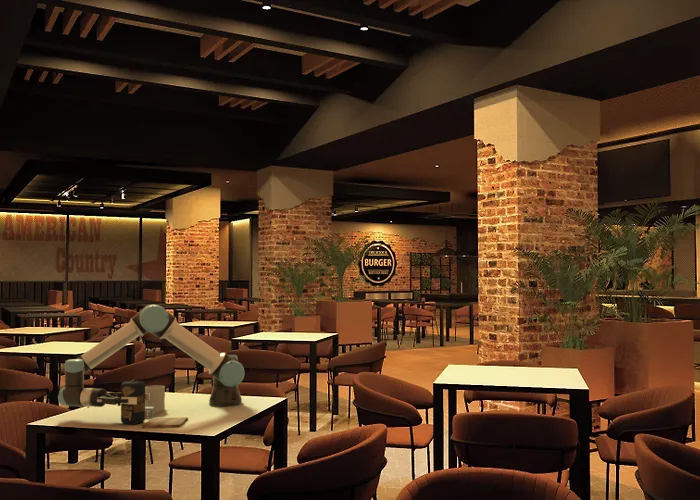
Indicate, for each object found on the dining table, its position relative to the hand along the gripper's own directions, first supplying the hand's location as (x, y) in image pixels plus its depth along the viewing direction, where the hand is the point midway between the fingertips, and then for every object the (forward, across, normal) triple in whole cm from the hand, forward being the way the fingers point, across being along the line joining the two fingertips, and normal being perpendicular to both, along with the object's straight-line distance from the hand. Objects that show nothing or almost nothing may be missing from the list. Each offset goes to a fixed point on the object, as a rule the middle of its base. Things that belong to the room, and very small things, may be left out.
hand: (142, 398), depth 275 cm
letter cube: (-5, -13, -10) cm, 17 cm away
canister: (-4, 0, -10) cm, 11 cm away
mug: (-9, -27, -10) cm, 30 cm away
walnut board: (+10, -1, -10) cm, 14 cm away
